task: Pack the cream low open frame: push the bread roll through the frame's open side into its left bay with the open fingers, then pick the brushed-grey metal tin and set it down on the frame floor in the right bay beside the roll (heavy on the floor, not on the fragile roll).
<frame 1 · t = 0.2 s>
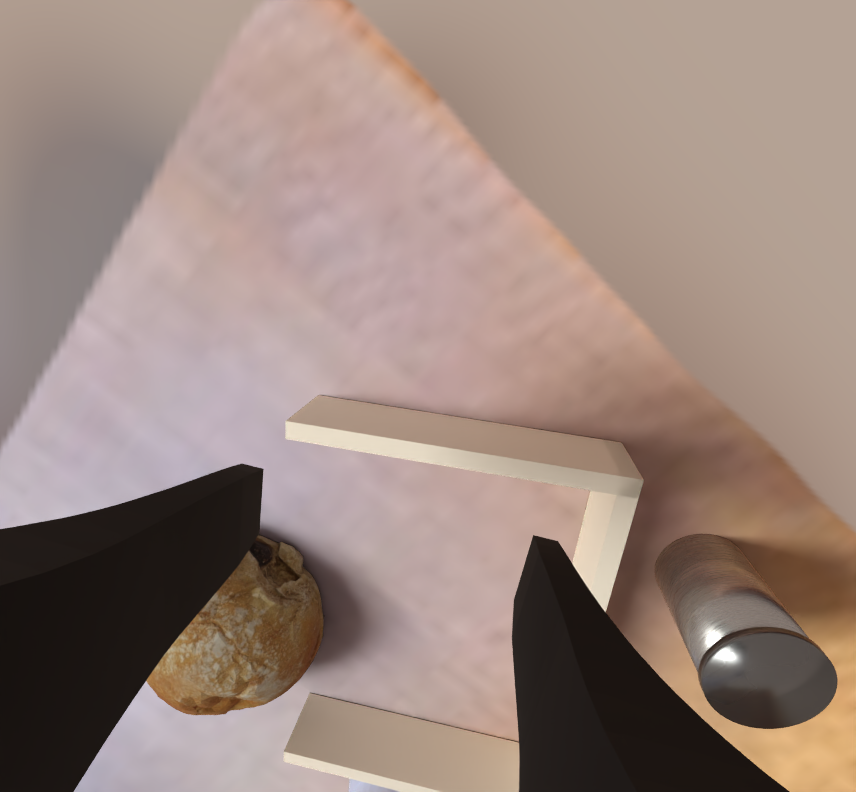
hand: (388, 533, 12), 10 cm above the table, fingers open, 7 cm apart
bread roll: (250, 595, 27), on the table
cream low open frame: (439, 594, 25), on the table
grey tin: (700, 570, 22), on the table
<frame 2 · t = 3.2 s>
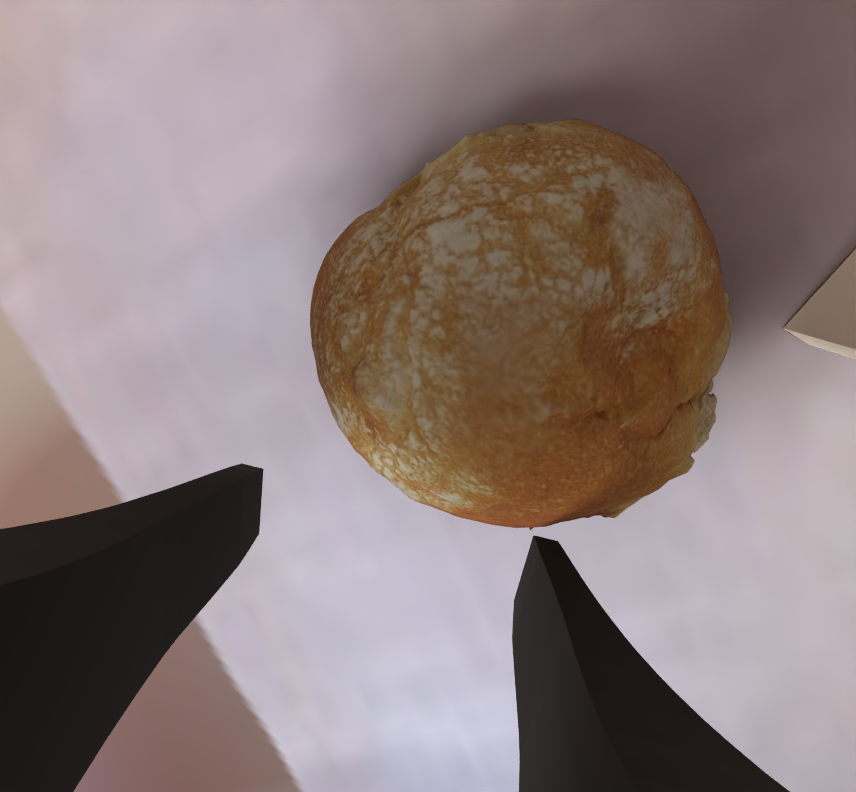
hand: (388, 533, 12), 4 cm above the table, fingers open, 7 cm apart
bread roll: (515, 331, 14), on the table, touching gripper
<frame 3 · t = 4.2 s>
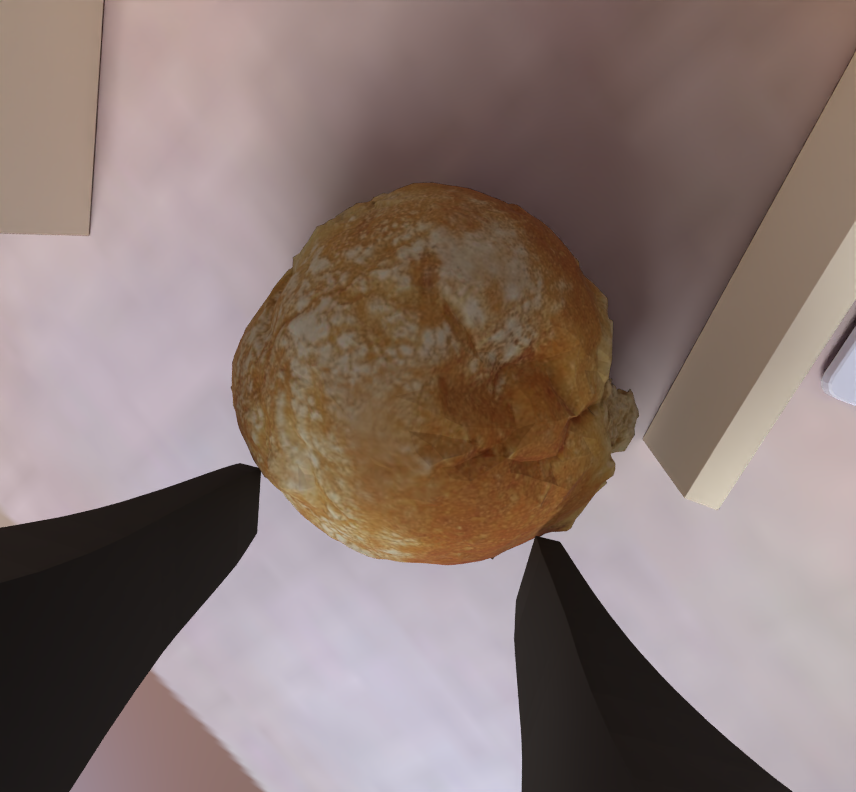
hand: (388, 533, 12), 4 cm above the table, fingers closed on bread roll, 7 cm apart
bread roll: (444, 369, 15), on the table, touching gripper
cream low open frame: (427, 83, 12), on the table
when the fingers open (4 cm above the table, at t = 5.7 s): bread roll stays where it is, on the table.
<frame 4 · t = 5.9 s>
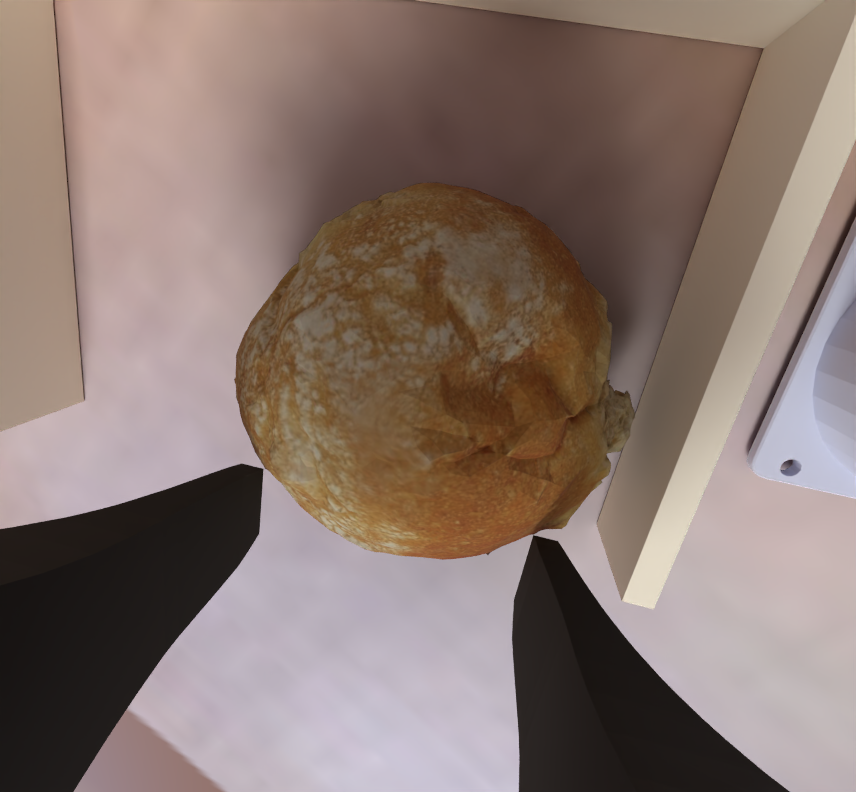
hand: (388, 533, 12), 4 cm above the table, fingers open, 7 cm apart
bread roll: (445, 367, 15), on the table, touching gripper
cream low open frame: (350, 250, 14), on the table
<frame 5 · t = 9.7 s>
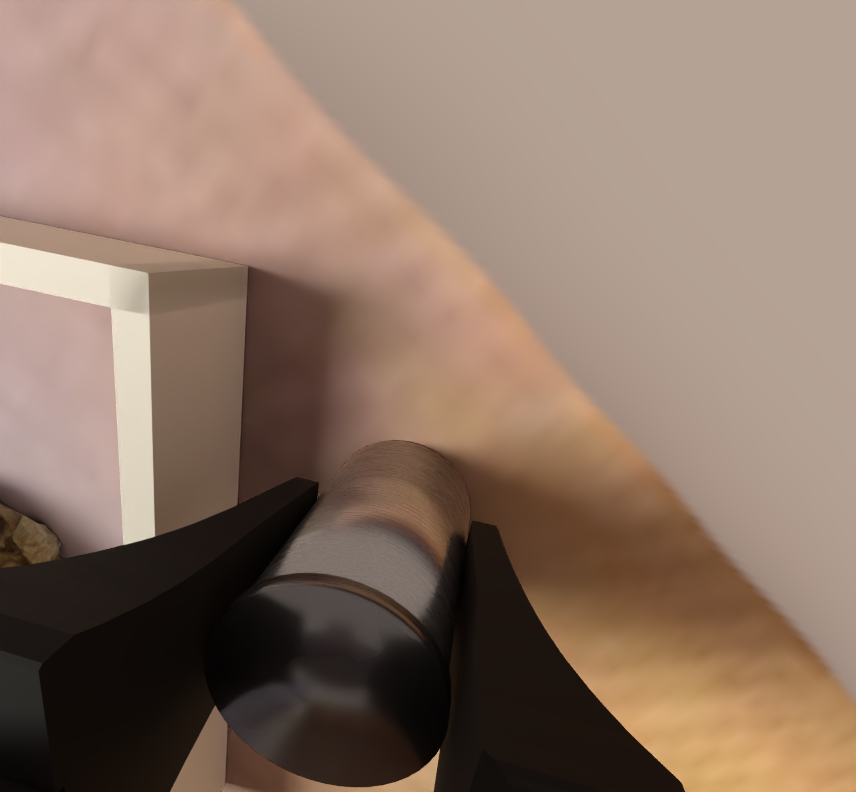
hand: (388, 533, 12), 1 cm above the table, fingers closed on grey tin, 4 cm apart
cream low open frame: (42, 529, 16), on the table
grey tin: (400, 504, 13), on the table, touching gripper
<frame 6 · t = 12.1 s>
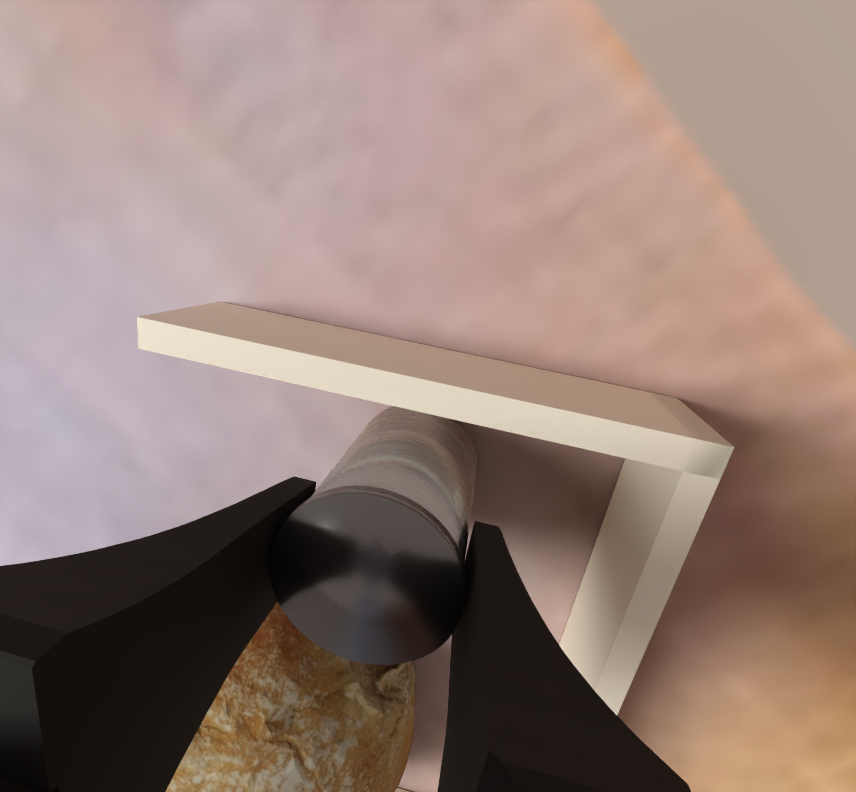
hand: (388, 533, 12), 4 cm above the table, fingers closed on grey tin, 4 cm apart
bread roll: (303, 658, 19), on the table
cream low open frame: (388, 609, 17), on the table
grey tin: (416, 460, 15), on the table, touching gripper
when the fingers open (3 cm above the table, at t = 12.7 s): grey tin stays where it is, on the table.
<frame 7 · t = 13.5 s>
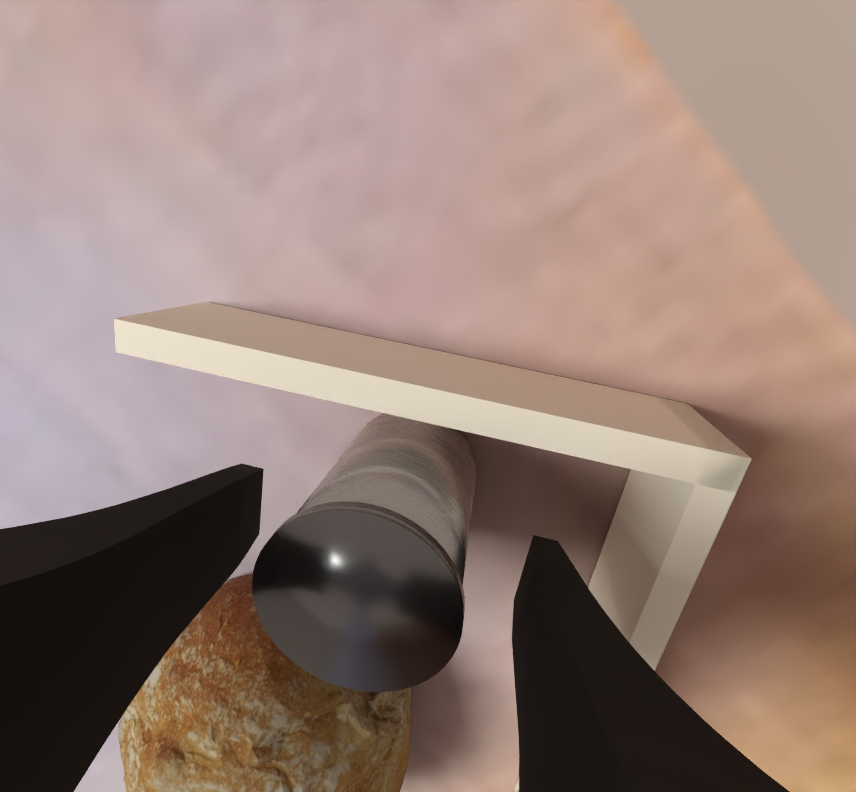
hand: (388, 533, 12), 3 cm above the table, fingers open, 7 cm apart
bread roll: (296, 672, 19), on the table
cream low open frame: (384, 621, 17), on the table
grey tin: (412, 468, 15), on the table
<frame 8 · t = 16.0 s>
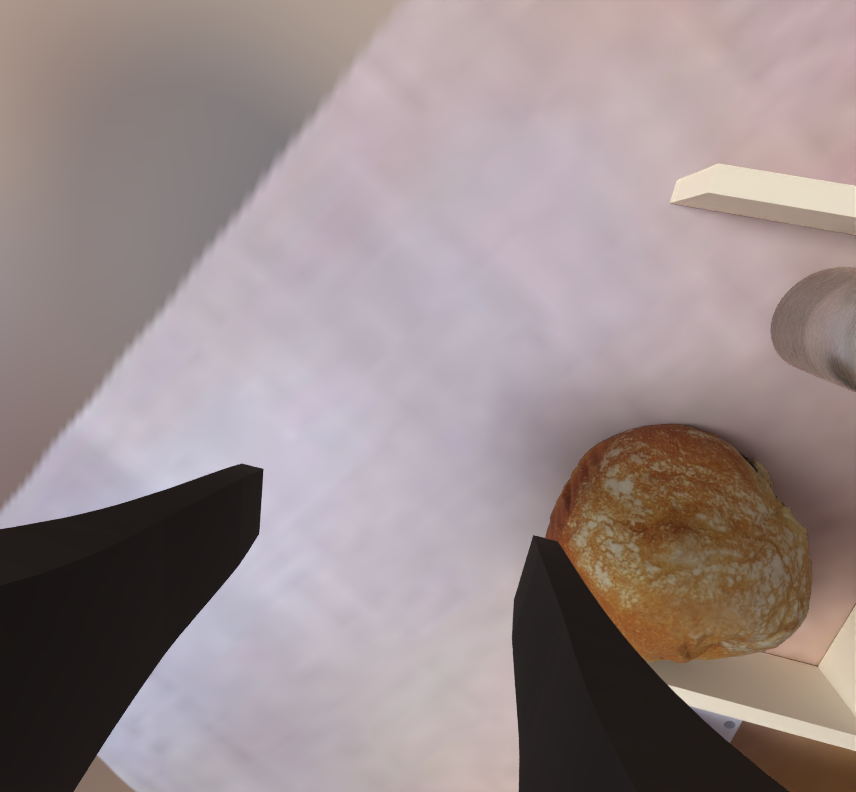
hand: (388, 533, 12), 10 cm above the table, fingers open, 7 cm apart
bread roll: (649, 523, 22), on the table
cream low open frame: (762, 465, 20), on the table
grey tin: (829, 321, 18), on the table
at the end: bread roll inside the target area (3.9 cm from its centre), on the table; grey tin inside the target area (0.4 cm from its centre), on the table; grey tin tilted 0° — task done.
